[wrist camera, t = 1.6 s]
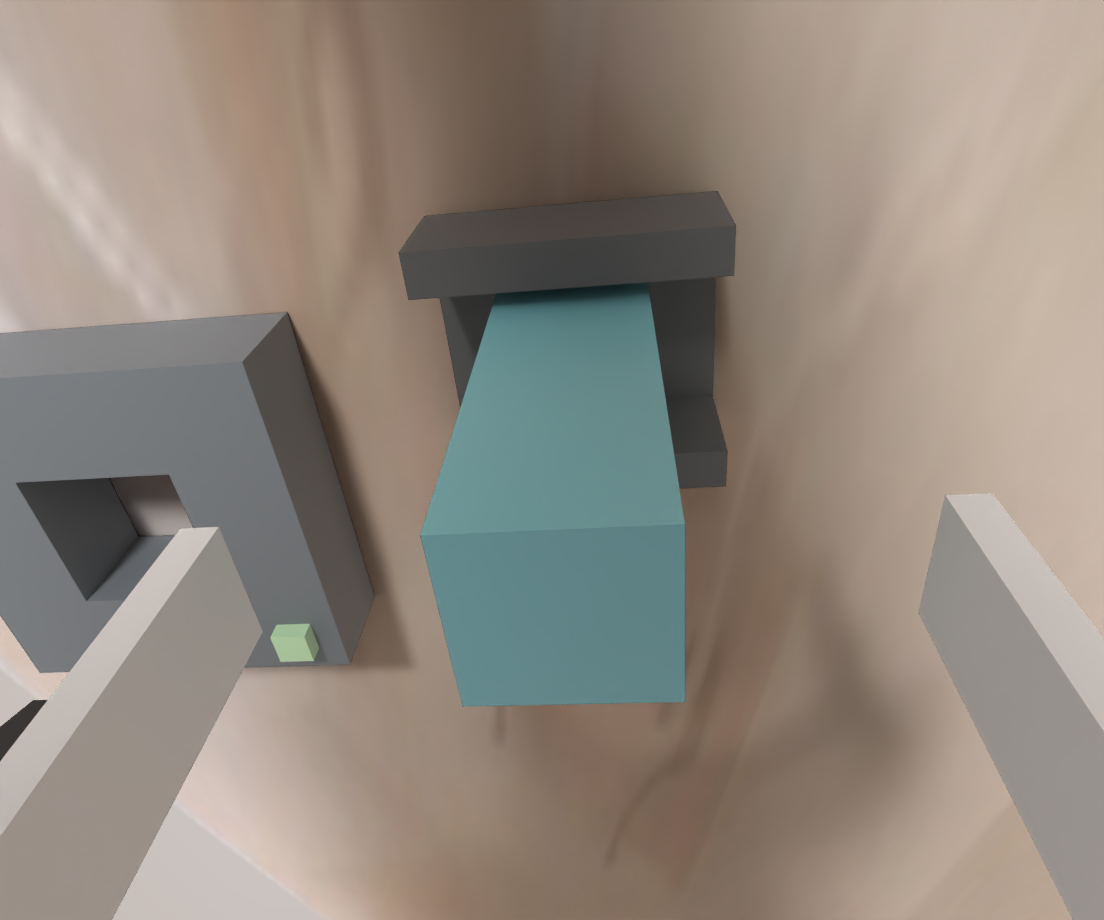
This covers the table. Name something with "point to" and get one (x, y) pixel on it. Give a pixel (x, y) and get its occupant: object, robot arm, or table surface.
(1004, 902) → the table surface
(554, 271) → the holster
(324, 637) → the port
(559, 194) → the table surface
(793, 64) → the table surface
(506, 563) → the plug
